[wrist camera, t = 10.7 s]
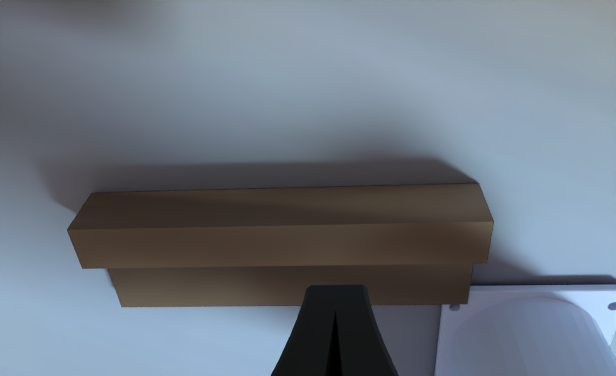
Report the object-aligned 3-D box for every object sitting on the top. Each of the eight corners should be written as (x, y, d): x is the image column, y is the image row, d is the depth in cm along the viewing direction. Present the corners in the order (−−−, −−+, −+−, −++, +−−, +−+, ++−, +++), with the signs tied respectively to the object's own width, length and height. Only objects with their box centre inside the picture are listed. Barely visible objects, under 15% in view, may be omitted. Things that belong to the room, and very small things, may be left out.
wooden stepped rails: (464, 291, 25) (475, 334, 23) (127, 294, 26) (108, 335, 24) (551, -341, 13) (591, -371, 11) (-73, -281, 14) (-143, -298, 12)
